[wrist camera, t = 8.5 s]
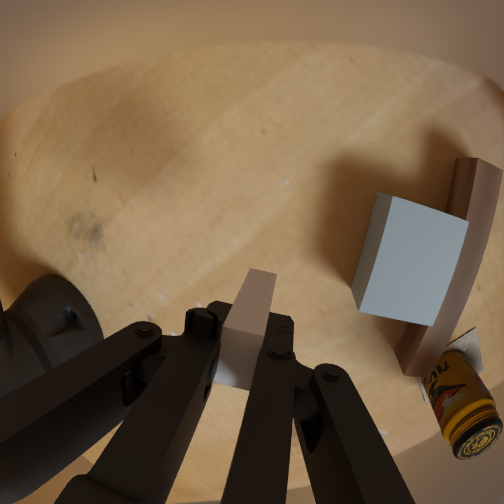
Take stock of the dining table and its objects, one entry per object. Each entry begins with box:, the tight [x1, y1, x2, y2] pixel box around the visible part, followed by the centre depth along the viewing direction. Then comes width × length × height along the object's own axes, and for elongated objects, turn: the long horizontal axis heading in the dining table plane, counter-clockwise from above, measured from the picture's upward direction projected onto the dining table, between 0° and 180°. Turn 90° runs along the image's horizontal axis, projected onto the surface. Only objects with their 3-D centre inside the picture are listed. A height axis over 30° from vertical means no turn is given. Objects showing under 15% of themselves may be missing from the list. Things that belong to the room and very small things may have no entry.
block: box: [351, 192, 469, 326], centre depth 22 cm, size 7×9×5 cm
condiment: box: [417, 328, 503, 460], centre depth 20 cm, size 7×8×12 cm
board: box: [395, 158, 503, 378], centre depth 22 cm, size 3×20×4 cm, turn 169°
